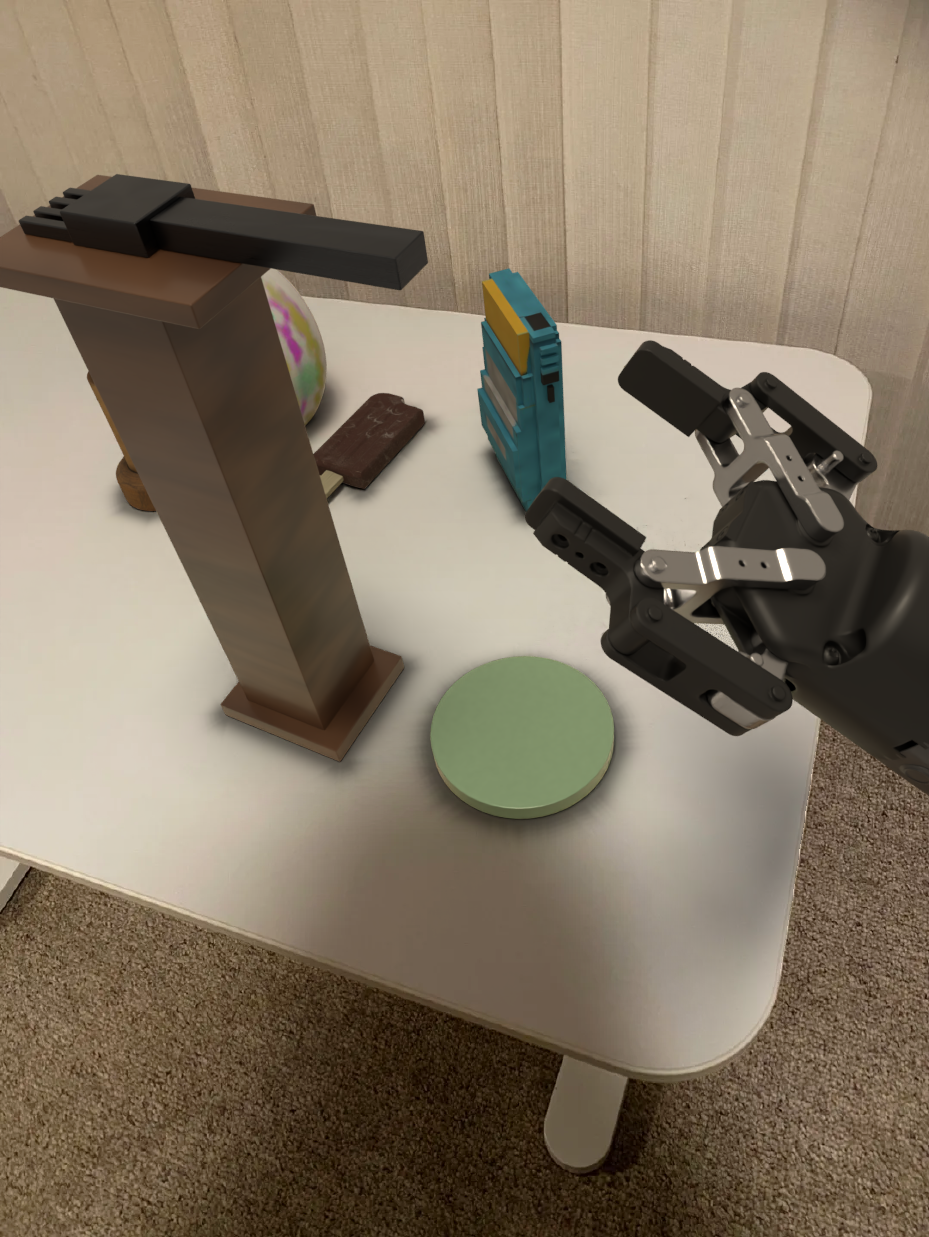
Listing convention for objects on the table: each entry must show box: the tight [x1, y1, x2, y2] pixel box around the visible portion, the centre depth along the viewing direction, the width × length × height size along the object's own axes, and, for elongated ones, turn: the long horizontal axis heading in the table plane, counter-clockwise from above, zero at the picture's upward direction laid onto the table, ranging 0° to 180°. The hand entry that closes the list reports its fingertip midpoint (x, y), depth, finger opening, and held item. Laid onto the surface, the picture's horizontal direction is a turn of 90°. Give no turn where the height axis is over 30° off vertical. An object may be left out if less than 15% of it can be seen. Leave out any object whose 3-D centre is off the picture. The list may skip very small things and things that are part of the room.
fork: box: [18, 173, 429, 291], centre depth 35 cm, size 3×18×1 cm, turn 62°
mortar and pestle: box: [86, 370, 157, 512], centre depth 70 cm, size 7×6×18 cm
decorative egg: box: [261, 269, 328, 426], centre depth 76 cm, size 12×12×15 cm
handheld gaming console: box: [476, 267, 568, 512], centre depth 66 cm, size 10×4×15 cm, turn 17°
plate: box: [429, 655, 615, 820], centre depth 56 cm, size 11×11×1 cm
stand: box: [0, 174, 405, 762], centre depth 49 cm, size 8×12×31 cm, turn 62°
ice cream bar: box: [313, 392, 426, 499], centre depth 75 cm, size 5×2×15 cm
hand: (586, 423), depth 33 cm, fingers open, 8 cm apart
